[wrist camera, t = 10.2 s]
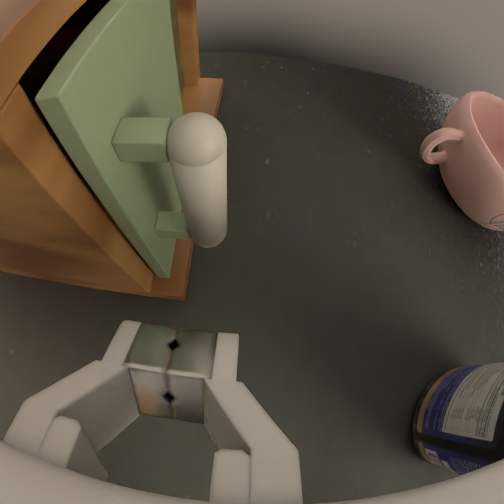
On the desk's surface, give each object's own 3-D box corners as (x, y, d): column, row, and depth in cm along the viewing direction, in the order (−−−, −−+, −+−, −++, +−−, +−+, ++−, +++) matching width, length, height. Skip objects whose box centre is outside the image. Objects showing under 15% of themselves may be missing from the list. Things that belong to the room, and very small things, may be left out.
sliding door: (238, 166, 17) (253, -39, 6) (224, 284, 15) (215, 90, 4) (180, 162, 17) (147, -37, 6) (157, 277, 15) (32, 99, 4)
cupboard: (223, 88, 21) (227, -97, 8) (185, 301, 16) (42, 60, 2) (61, 93, 20) (5, -44, 7) (-11, 269, 15) (-167, 159, 2)
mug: (492, 146, 22) (527, 108, 16) (525, 248, 18) (575, 219, 13) (384, 118, 21) (416, 61, 15) (414, 242, 18) (472, 197, 12)
